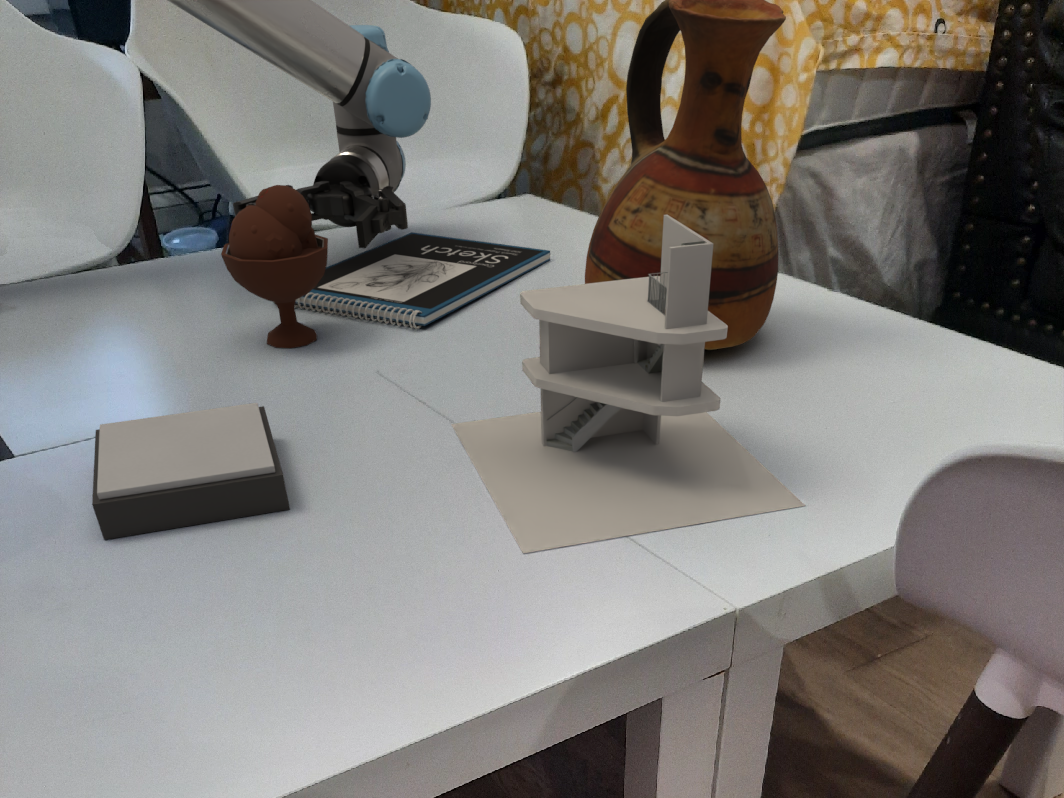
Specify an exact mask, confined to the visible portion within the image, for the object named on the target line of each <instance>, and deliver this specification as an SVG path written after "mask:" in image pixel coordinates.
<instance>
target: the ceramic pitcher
mask: <svg viewBox="0 0 1064 798" xmlns="http://www.w3.org/2000/svg"><path fill="white" fill-rule="evenodd" d="M786 20H787V16H786V15H785V14H784V10H783V9H782V8H781V7H780V6H779V5H778V4H776V3H773V2H769V1H767V0H663V1H662V2H661V3H660V4H659V5H658V6H657V7H656V8H655V9H654V10H653V11H652V12H651V13H650V14H649V15H648V16H647V17H646V18H645V20H644V21H643V23H642V25H641V26H640V29H639V30H638V33H637V37H636V39H635V43H634V46H633V50H632V54H631V57H630V58H631V59H630V62H629V67H628V71H627V75H626V86H625V91H626V92H625V93H626V94H625V95H626V113H627V120H628V127H629V136H630V143H631V161H630V164H629V167H628V168H627V169H626V171H625V172H624V173H623V175H621V177H620V178H619V180H618V181H617V183H616V185H615V186H614V188H613V190H612V191H611V193H610V194H609V196H608V198H607V199H606V201H605V203H604V205H603V208H602V209H601V211H600V213H599V215H598V217H597V220H596V222H595V225H594V227H593V230H592V233H591V237H590V240H589V243H588V248H587V252H586V257H585V258H586V259H585V268H584V269H585V270H584V284H589V283H598V282H606V281H615V280H624V279H633V278H642V277H649V275H648V274H652V275H651V276H657V274H653V273H661V257H662V239H663V220H664V215H669V216H670V217H672V218H673V219H675V220H677V221H678V222H680V223H681V224H683V225H685V226H686V227H688V228H689V229H691V230H693V231H694V232H696V233H697V234H699V235H700V236H702V237H704V238H705V239H707V240H708V241H710V242H712V243H713V254H712V265H711V277H710V289H709V301H708V311H709V312H710V313H712V314H713V315H714V316H716V317H717V318H718V319H720V320H721V321H722V322H724V323H725V324H726V325H727V326H728V329H727V338H725V339H722V340H715V341H707V342H705V348H704V350H707V351H713V350H717V349H718V350H719V349H726V348H732V347H737V346H740V345H742V344H744V343H747V342H748V341H750V340H752V339H753V338H754V337H755V336H756V335H757V334H758V333H759V331H760V330H761V328H762V327H763V326H764V325H765V323H766V321H767V319H768V316H769V315H770V311H771V308H772V306H773V302H774V299H775V293H776V288H777V284H778V275H779V237H778V228H777V227H778V226H777V217H776V213H775V207H774V203H773V200H772V199H773V198H772V197H771V194H770V192H769V189H768V187H767V185H766V183H765V180H764V179H763V177H762V176H761V173H760V172H759V171H758V169H757V168H756V167H755V166H754V165H753V163H752V162H751V161H750V160H749V159H748V158H747V156H746V153H745V151H744V149H743V148H744V147H743V143H742V142H743V141H742V137H743V136H742V124H743V113H744V108H745V107H744V106H745V101H746V98H747V95H748V92H749V89H750V85H751V81H752V77H753V72H754V69H755V66H756V63H757V60H758V58H759V56H760V53H761V51H762V49H764V47H765V45H766V44H767V42H768V41H769V40H770V38H771V37H772V36H773V35H775V33H776V32H777V31H778V30H779V29H780V28H781V26H783V24H784V23H785V21H786ZM679 33H681V37H682V41H683V46H684V59H685V70H684V79H683V80H684V81H683V87H682V92H681V98H680V102H679V107H678V110H677V113H676V115H675V119H674V121H673V125H672V127H671V129H670V131H669V133H668V134H667V137H666V138H665V135H664V129H663V128H664V127H663V120H662V119H663V118H662V108H661V104H662V103H661V99H662V98H661V95H662V87H663V86H662V85H663V74H664V69H665V67H666V63H667V59H668V56H669V53H670V51H671V49H672V46H673V45H674V42H675V39H676V37H677V36H678V34H679ZM660 275H661V274H658V276H660ZM665 311H666V309H665Z"/></svg>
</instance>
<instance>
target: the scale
mask: <svg viewBox="0 0 1064 798" xmlns="http://www.w3.org/2000/svg"><path fill="white" fill-rule="evenodd" d="M94 435H95V437H94V459H93V477H92V478H93V480H92V481H93V482H92V497H91V498H92V499H91V500H92V501H91V503H92V504H91V505H92V509H93V511H94V514H95V517H96V521H97V523H98V526H99V530H100V532H101V535H102V538H103V540H104V541H106V540H112V539H118V538H119V539H120V538H124V537H130V536H136V535H143V534H148V533H149V534H150V533H155V532H161V531H168V530H173V529H179V528H184V527H191V526H196V525H198V526H199V525H204V524H209V523H215V522H223V521H228V520H235V519H241V518H246V517H252V516H258V515H265V514H269V513H270V514H271V513H276V512H284V511H289V510H290V509H291V507H290V502H289V497H288V493H287V487H286V482H285V478H284V473H283V470H282V466H281V462H280V458H279V455H278V451H277V448H276V444H275V441H274V437H273V434H272V430H271V426H270V422H269V419H268V416H267V412H266V407H265V406H264V405H263V406H259V404H258V402H251V403H245V404H237V405H232V406H231V405H230V406H223V407H222V406H221V407H216V408H209V409H202V410H195V411H188V412H186V411H185V412H180V413H173V414H166V415H165V414H164V415H158V416H152V417H145V418H136V419H131V420H130V419H129V420H121V421H115V422H109V423H108V422H107V423H101V424H99V429H95V434H94Z"/></svg>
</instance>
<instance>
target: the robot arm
mask: <svg viewBox="0 0 1064 798" xmlns="http://www.w3.org/2000/svg"><path fill="white" fill-rule="evenodd" d="M166 1H167V2H168V3H170V4H172V5H174V6H175V7H177V8H178V9H181V10H182V11H184V12H185V13H187V14H189V15H190V16H192V17H193V18H195V19H197V20H199V21H200V22H202V23H203V24H205V25H206V26H208V27H210V28H211V29H213V30H215V31H217V32H218V33H219V34H221V35H223V36H225V37H226V38H228V39H230V40H231V41H232V42H234V43H236V44H238V45H239V46H241V47H243V48H245V49H246V50H248V51H249V52H251V53H253V54H254V55H256V56H257V57H259V58H261V59H263V60H264V61H266V62H267V63H269V64H271V65H272V66H274V67H275V68H277V69H279V70H281V71H283V72H284V73H286V74H287V75H289V76H290V77H292V78H293V79H295V80H297V81H299V83H302V84H304V85H305V86H307V87H308V88H310V89H312V90H313V91H315V92H316V93H318V94H320V95H322V96H323V97H325V98H327V99H329V100H330V101H331V102H332V106H333V112H334V113H333V114H334V119H335V129H336V137H337V138H336V139H337V143H338V153H337V154H336V155H334V156H333V157H332V158H330V159H329V160H328V161H327V162H326V163H324V164H323V165H322V166H321V167H320V168H319V170H318V171H317V173H316V175H315V178H314V181H313V184H312V185H309V186H303V187H299V188H297V189H296V190H297V191H298V192H299V193H300V194H301V195H302V196H303V197H304V198H305V200H306V201H307V203H308V205H309V208H310V211H311V214H312V222H313V221H318V220H325V221H329V222H331V223H332V224H334V225H336V226H339V227H342V228H354V227H355V229H356V237H357V244H358V249H366V248H367V247H368V246H369V245H370V244H371V243H372V242H373V241H374V239H375V238H377V236H378V235H380V234H383V233H385V232H388V231H390V230H392V226H395V227H396V228H397V229H398V230H401V231H402V230H407V229H408V228H409V224H408V223H409V222H408V214H407V213H408V212H407V204H406V203H405V201H403V200H402V199H401V198H400V197H399V196H398V195H397V194H396V193H395V192H397V190H398V188H399V187H400V185H401V182H402V180H403V178H404V176H405V173H406V165H407V163H406V157H405V156H406V155H405V153H404V150H403V148H402V146H401V144H400V143H399V141H398V140H397V138H398V139H399V138H400V139H402V138H408V137H411V136H414V135H415V134H416V133H418V132H419V131H420V130H422V128H423V127H424V126H425V124H426V122H427V120H428V119H429V116H430V112H431V106H432V97H431V90H430V88H429V83H428V82H427V80H426V78H425V76H424V75H423V74H422V73H421V71H419V70H418V69H417V68H416V67H415V66H413V64H411V63H410V62H408V61H407V60H406V59H402V58H397V57H396V56H395V55H393V54H392V53H390V51H389V49H388V44H387V39H386V33H385V31H384V29H383V28H382V27H380V26H378V25H373V24H371V25H370V24H351V25H350V24H349V25H348V23H345V22H344V21H343V20H341V19H340V18H339V17H337V16H335V15H334V14H332V12H331V13H330V11H328V10H326V9H325V8H323V7H322V6H320V5H319V4H317V3H316V2H314V1H313V0H166ZM285 185H286V186H288V187H291V188H293V189H294V186H293V185H290V184H285ZM257 198H258V195H255V196H252V197H249V198H244V199H242V200H237V201H234V202H233V203H232V206H233V207H232V208H233V212H234V218H235V217H236V215H237V214H238V212H240V211H241V210H243V209H245V207H247V206H248V205H253V206H255V205H256V200H257Z"/></svg>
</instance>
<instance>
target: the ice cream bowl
mask: <svg viewBox="0 0 1064 798" xmlns="http://www.w3.org/2000/svg"><path fill="white" fill-rule="evenodd" d="M286 185H287V184H274V185H271V186H268V187H266V188H263V189H261V190H260V191H259V193H258V195H257V196H258V198H257V200H256V205H255V206H253V205H248V206H247V207H245V209H243V210H241V211H240V212H238V214H237V215H236V217H235V216H234V218H233V219H232V221H231V222H230V224H229V230H228V243H225V244H224V245H223V248H222V250H221V253H220V255H221V258H222V260H223V263H224V265H225V268H226V270H227V271H228V273H229V274H230V276H231V277H232V279H233V280H234V281H235V282H236V284H238V285H240V286H241V287H242V288H244V289H245V290H246V291H247V292H249V293H251V294H252V295H254V296H257V297H258V298H259V299H260V298H261V299H263V300H266V301H269V302H272V303H273V302H275V304H274V305H275V306H276V308H277V309H278V313H279V315H278V316H279V321H280V323H278V325H276V326H275V327H273V328H272V329H271V330H270V331H269V332H267V337H266V338H267V339H266V345H268V346H271V347H273V348H278V349H295V348H298V347H299V348H300V347H304V346H305V347H306V346H308V345H310V344H312V343H314V342H316V341H317V339H318V334H317V332H316V330H315V329H313V328H312V327H311V326H307V325H305V324H303V323H301V322H299V321H298V318H297V313H296V308H295V307H294V306H296V304H295V301H296V299H298V298H300V297H302V296H304V295H306V294H308V293H309V292H310V291H311V290H312V289H313V288H315V287H316V285H317V284H318V282H319V281H320V280H321V278H322V277H323V275H324V273H325V269H326V267H327V265H328V255H329V254H328V251H329V238H328V237H325V236H322V235H318V234H316V233H315V229H314V228H313V227H312V226H313V221H312V214H311V213H312V211H310V208H309V205H308V203H307V201H306V200H305V198H304V197H303V196H302V195H301V194H300V193H299V192H298V191H297V189H295V188H294V187H293V188H291V187H288V186H286Z"/></svg>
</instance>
